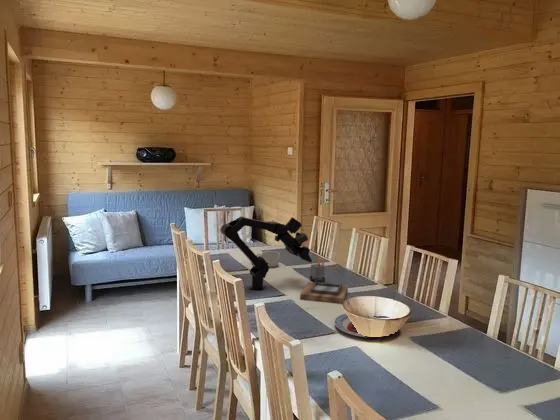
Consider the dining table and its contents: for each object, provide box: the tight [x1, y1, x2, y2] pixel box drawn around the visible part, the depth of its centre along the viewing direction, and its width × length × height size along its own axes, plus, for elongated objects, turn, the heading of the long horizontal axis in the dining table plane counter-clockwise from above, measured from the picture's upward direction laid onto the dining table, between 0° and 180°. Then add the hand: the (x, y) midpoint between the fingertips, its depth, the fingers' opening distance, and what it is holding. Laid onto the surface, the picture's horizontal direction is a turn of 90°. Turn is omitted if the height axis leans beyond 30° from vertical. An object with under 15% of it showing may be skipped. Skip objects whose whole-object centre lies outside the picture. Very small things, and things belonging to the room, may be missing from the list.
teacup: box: [255, 250, 281, 268], centre depth 281 cm, size 14×11×8 cm
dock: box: [299, 281, 349, 304], centre depth 231 cm, size 20×20×4 cm
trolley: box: [309, 256, 326, 283], centre depth 252 cm, size 6×6×12 cm
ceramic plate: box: [334, 313, 390, 338], centre depth 191 cm, size 26×26×3 cm
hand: (307, 259), depth 249 cm, fingers open, 9 cm apart
